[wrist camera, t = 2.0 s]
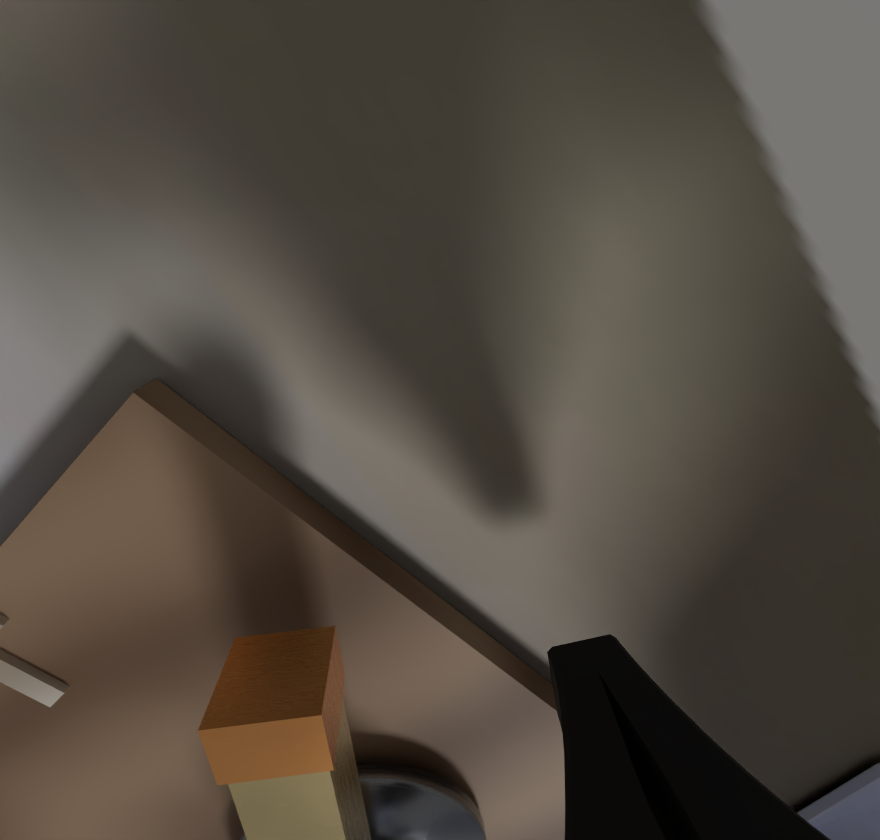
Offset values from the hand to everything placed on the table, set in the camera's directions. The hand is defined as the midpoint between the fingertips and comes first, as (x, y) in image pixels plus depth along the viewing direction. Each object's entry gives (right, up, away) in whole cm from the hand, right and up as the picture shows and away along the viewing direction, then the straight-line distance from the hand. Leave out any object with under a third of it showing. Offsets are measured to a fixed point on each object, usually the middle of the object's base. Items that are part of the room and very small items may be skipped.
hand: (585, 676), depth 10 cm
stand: (-7, -6, +5) cm, 10 cm away
